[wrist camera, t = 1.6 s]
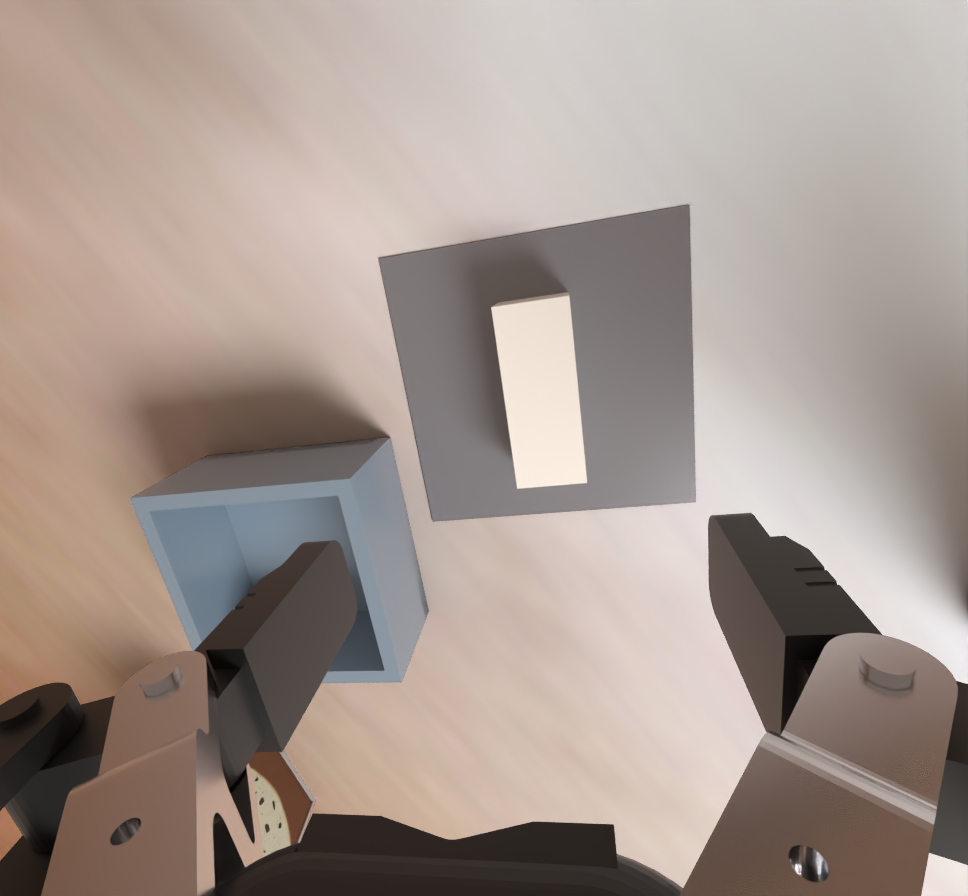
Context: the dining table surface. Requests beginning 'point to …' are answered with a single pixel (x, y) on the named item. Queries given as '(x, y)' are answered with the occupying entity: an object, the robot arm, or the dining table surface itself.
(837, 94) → the dining table surface
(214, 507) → the dish
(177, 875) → the robot arm
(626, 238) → the lid
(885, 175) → the dining table surface
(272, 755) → the food container
